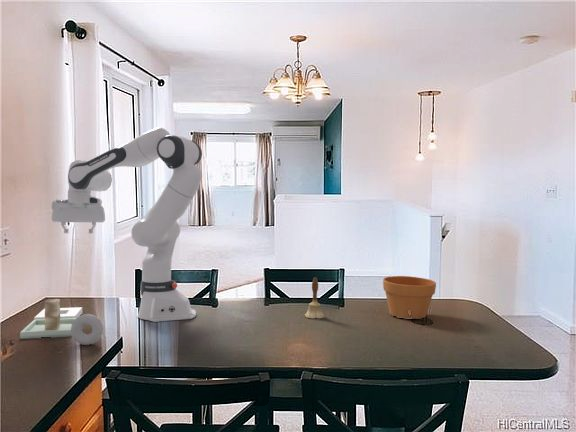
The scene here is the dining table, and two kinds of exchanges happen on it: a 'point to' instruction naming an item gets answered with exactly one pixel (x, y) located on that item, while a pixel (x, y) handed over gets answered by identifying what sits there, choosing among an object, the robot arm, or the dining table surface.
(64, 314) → the pocket plate
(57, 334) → the tray
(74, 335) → the donut
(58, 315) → the maple block
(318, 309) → the hand bell
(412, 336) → the dining table surface
